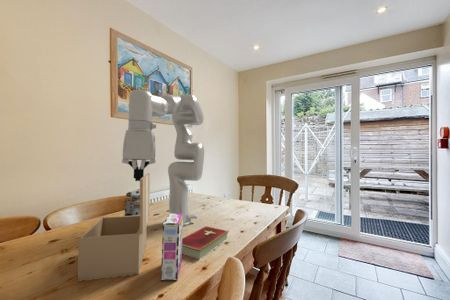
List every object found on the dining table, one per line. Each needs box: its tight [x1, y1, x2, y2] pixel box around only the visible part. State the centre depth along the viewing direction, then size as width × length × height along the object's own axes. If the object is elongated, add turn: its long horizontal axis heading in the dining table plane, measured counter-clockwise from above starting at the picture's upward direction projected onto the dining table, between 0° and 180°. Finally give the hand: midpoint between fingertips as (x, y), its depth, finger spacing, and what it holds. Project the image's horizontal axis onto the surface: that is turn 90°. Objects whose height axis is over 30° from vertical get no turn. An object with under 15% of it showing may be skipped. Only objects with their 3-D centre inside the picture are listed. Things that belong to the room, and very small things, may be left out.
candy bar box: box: [160, 213, 184, 281], centre depth 67 cm, size 11×5×16 cm, turn 5°
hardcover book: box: [182, 225, 229, 260], centre depth 85 cm, size 12×21×4 cm, turn 151°
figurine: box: [123, 188, 140, 216], centre depth 120 cm, size 9×12×15 cm
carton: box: [77, 215, 148, 282], centre depth 72 cm, size 16×20×12 cm
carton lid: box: [139, 172, 151, 234], centre depth 74 cm, size 16×20×1 cm
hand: (138, 180), depth 73 cm, fingers closed
